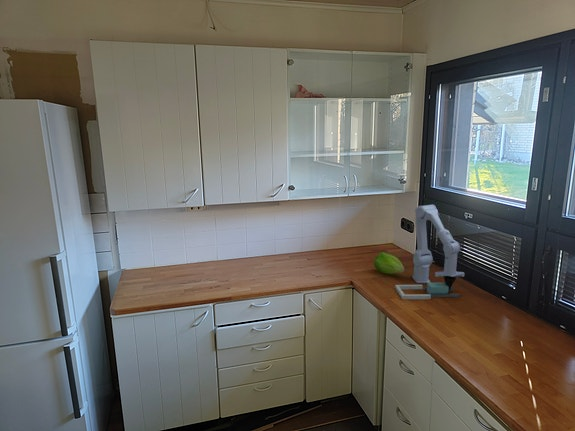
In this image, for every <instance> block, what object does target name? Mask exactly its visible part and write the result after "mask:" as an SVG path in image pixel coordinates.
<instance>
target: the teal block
mask: <svg viewBox="0 0 575 431" xmlns="http://www.w3.org/2000/svg"><path fill="white" fill-rule="evenodd" d="M426 287H427V291H426V293H427V294H438V293H449V291H448V289H449V287H448V286H447V285H446V283H445V282H431V283H426Z"/></svg>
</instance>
